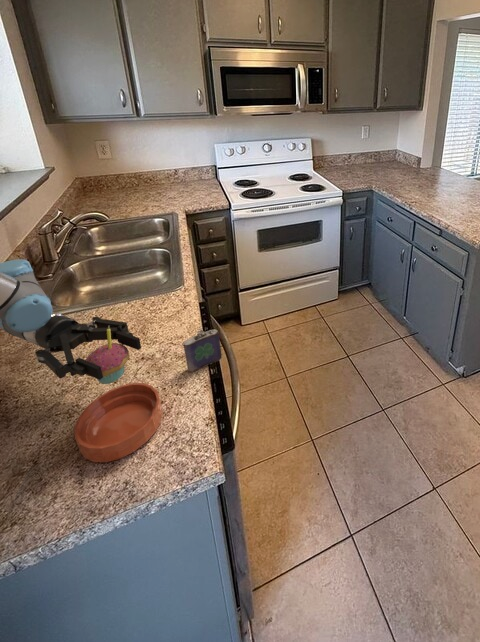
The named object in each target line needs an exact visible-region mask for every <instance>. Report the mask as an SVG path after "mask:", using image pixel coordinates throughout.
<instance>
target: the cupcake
mask: <svg viewBox="0 0 480 642" xmlns="http://www.w3.org/2000/svg"><path fill="white" fill-rule="evenodd" d="M106 341H107V344H103V345H101V346H99V347H97V348H96V349H95V350H93V351H92V352H91V353H90V354H88V356H87V357H86V358H85V360H86V361H88V362H91V363H93V364H95V365H98V366H100V367H101V371H102V374H103V378H102V379H100V380H99V379H97V378H95V379H96V380H97V381H98V382H99V383H100V384H102V385H109V384H113V383H115V382H117V381H118V380H119V379H121V377H122V376H123V375H124V373H125V372H124V371H125V365H126V363H127V362H128V360H129V358H130V351H129V349H128V347H127V346H126V345H123V344H121V343H118V342H117V343H116V342H113V343H112V340H111V332H110V329H109V326H108V329H107V340H106ZM85 376H87V377H90V378H93V377H92V376H90V375H88V374H85Z"/></svg>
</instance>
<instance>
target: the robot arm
mask: <svg viewBox="0 0 480 642" xmlns="http://www.w3.org/2000/svg"><path fill="white" fill-rule="evenodd" d="M91 320H92V321H90V322H88V323H85V322H84V323H79V322H78V321H76V320H75V319H74V318H71V317H69V316H66V315H63V314H60V313H57V312H55V311H54V309H53V306H52V301H51V299H50V298H49V297H48V296H47V295H46V293H45V291H44V290H43V289H42V287H41V285H40V283H39V281H38V280H37V279H36V276H35V272H34V269H33V268H32V266H31V263H30V261H28V260H26V259H21V258H20V259H19V258H18V259H11V260H7V261H3V262H0V329H1V330H3V331H4V332H6V333H8V334H9V335H11V336H14V337H17V338H19V339H21V340H24V341H26V342H29V343H31V344H34V345H36V346H38V347H40V348H41V349H38V350H36V351H35V356H36V359H37V361H38V364H44V365H46V366H47V367H48V368H49V370H51V371H52V372H53V373H54V375H55V376H56V377H57V378H59V379H63V378H65V377H66V376H67V374H69V373H70V376H72V377H74V376H77V375H78V376H80V377H81V376H82V377H84V376H86V374H88V375H90V376H89V377H91V376H92V377H91V378H95V379H96V378H97V379H99V380H100V379H102V378H103V374H102V371H101V367H100V366H98V365H95V364H93V363H91V362H88V361H86V359H83V358H82V357H77V358H76V359H75V358H74V355H73V352H72V350H75V349H76V348H77V347H79V346H80V345H82V344H84V343H92V342H93V341H108V340H107V329H108V326H109V329H110V332H111V341H114V340H116V341H117V343H118V344H123V345H124V346H125V347H128V348H131V349H134V350H137V351H140V350H141V349H142V345H141V339H140V337H138V336H134V334H133V332H130V331H129V327H128V322H126V321H118V320H113V319H106V318H105V319H104V318H101V317H99V316H93V317H92V318H91ZM60 352H63V353H64V354H63V355H64V357H65V360H66V363H65V364H63V363H62V362H61V361H59V359H57V358H56V356H54V354H53V353H60ZM97 379H96V380H97Z"/></svg>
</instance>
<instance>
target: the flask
mask: <svg viewBox="0 0 480 642" xmlns="http://www.w3.org/2000/svg"><path fill="white" fill-rule="evenodd" d="M195 331H196V332H197V334H195V335H194V336H192V337H190V338H188V339H186V340H184V341H183V343H182V345H183V351H184V356H185V360H186V366H187V371H188V372H189V373H193V372H197V371H198V370H200V369H204V368H206V367H207V366H208V365H212V364H213V363H216V362H219V361H220V360H222V358H223V356H222V355H223V354H222V346H221V339H220V333H219V331H218V330H217V329H209V330H207V331H204V330H203V331H202V328H198V329H197V330H195Z"/></svg>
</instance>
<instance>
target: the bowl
mask: <svg viewBox="0 0 480 642" xmlns="http://www.w3.org/2000/svg"><path fill="white" fill-rule="evenodd" d="M162 417H163V407H162V402H161V398H160V395H159V391H158V390H157V389H156V388H155V387H154V386H153V385H150V384H148V383H144V382H132V383H127V384H122V385H119V386H116V387H115V388H112V389H109V390H108V391H106V392H104V393H103V394H100V395H99V396H98V397H97V398H95V399H93V401H91V402H90V403H89V404H88V405H87V406H86V407H85V408H84V410H83V411H82V412H81V414H80V415H79V416H78V418H77V420H76V423H75V426H74V440H75V443H76V445H77V447H78V450H79V452H80V454H81V455H82V457H83V458H84V459H86V460H88V461H91V462H92V463H108V462H109V463H110V462H112V461H116V460H120V459H122V458H124V457H126V456H128V455H130V454H132V453H134V452H136V451H137V450H138V449H140V448H141V447H142V446H143V445H144V444H146V443H147V442H148V441H149V440H150V439H151V437H152V436H153V435H154V434H155V433H156V431H157V430H158V428H159V426H160V424H161V422H162Z"/></svg>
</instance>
